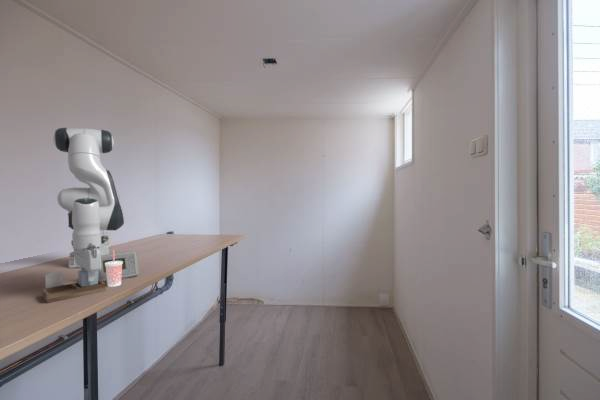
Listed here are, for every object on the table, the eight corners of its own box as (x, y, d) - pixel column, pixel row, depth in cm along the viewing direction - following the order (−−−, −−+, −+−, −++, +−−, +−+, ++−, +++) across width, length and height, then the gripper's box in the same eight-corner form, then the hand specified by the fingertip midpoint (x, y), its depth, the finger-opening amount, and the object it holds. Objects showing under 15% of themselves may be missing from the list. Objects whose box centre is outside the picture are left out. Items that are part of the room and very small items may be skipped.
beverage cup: (110, 282, 124) (109, 248, 124) (126, 282, 125) (125, 248, 124) (101, 287, 118) (101, 251, 118) (118, 287, 118) (117, 251, 118)
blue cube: (78, 284, 114) (78, 270, 114) (94, 281, 118) (93, 268, 118) (82, 286, 111) (81, 273, 111) (98, 283, 114) (97, 270, 114)
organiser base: (42, 296, 108) (42, 289, 108) (98, 285, 121) (97, 278, 121) (47, 303, 102) (47, 294, 102) (105, 290, 115) (105, 283, 114)
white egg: (44, 289, 116) (44, 274, 116) (61, 286, 119) (60, 271, 119) (47, 292, 112) (46, 276, 112) (64, 289, 116) (63, 273, 116)
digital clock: (93, 284, 122) (92, 258, 122) (94, 279, 130) (93, 254, 130) (139, 278, 131) (138, 253, 130) (137, 273, 138) (137, 250, 138)
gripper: (106, 244, 109) (106, 282, 110) (89, 238, 123) (90, 272, 123) (84, 246, 105) (86, 286, 105) (70, 240, 118) (71, 276, 119)
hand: (88, 279), depth 114 cm, fingers closed on blue cube, 5 cm apart
